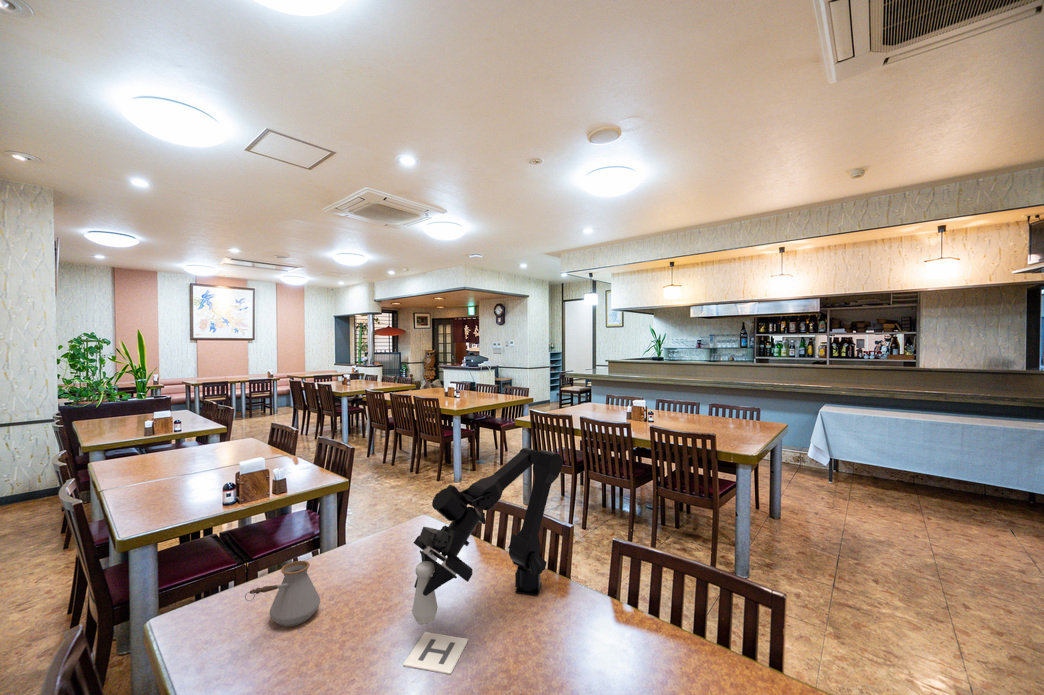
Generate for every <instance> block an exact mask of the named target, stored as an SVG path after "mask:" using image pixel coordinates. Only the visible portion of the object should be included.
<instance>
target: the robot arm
mask: <svg viewBox="0 0 1044 695" xmlns="http://www.w3.org/2000/svg"><path fill="white" fill-rule="evenodd" d="M563 464H564V460H563V458H562V456H561V454H559V453H557V452H553V451H549V450H545V449H541V450H539V451H537V450H535V449H533V448H529V447H523V448H521V449H520V450H519V452H518V453H517V454H516V455H514V456H513V457H512V458H511V459H509V461H507V462H506V463H505V464H504V465H502V467H500V468H499V469H497V470H496V471H495V472H494V473H493V474H492V475H490V476H487V477H483V478H480V479H478V480H477V481H475V482H474V483H471V484H470V485H469V487H468V488H465V489H463V490H461V491H460V490H459V489H458V488H457V487H456V486H455V485H453V484H448V486H447V487H445V488H442V489H441V490H440V491H438V492H437V493H436V494H435V495H434V497H433V499H432V502H431V505H432V508H433V509H434V510H435V511H437V513H439V515H441V516H442V517H444V518H445V519H446V520H447V521H449V522H450V523H449V525H446V524H444V525H443V526H442V527H441V528H440V529H437V528H433V527H427V526H422V529H421V531H420V535H418V536H417V537H416V538H415V540H414V542H413V544H414V545H415V546H417V547H418V548H419V549H420V550H419V554H420V557H421V562H424V561H430V562H432V563H433V564H434V573H433V575H432V577H431V578H430V580H429V582H428V584H427V585H426V587H425V589H424V591H423V595H425V596H427V595H428V594H430V593H431V592H433V591H435V590H437V589H438V588H440V587H441V586H443V585H445V584H446V583H448V582H450V581H451V580H453V579H457V578H458V576H459V577H460V578H462V579H463V580H464V581H466V582H467V583H468V582H469V581H470V579H471V577H472V576H473V573H474V572H473V568H472V567H471V566H470V565H469V564H467V563H466V562H465V561H463V560H462V559H461V558H460V557H459V556H458V555H459V553H460V552H461V550H462V549H463V547H464V546H466V547H468V546H469V545H470V542H469V541H468V540H469V537H470V536H471V534H472V533H473V531H474V530H475V528H476V527H477V525H478V523H481V524H483V525H486V524H487V520H486V517H485V516H486V513H485V512H483V511H490V510H492V509H493V508H494V507H495V506H496V505H497V503H498V502H499V501H500V500H501V498H502V495H503V492H504V491H505V490H506V488H507V487H508V486H510V485H511V484H512V483H513V482H514V481H515V480H516V479H518V478H519V477H520V476H521V475H522V474H524V472H526V471H527V470H528V469H529V468H531V466H532V471H533V472H532V474H533V477H534V481H533V486H532V488H531V489H532V490H531V492H530V496H529V499H528V500H529V501H528V504H527V508H526V511H525V515H524V519H523V523H522V526H521V529H520V530H519V531H518V532H517V533H516V534H515V533H514V534H512V535H511V540H510V543H509V545H508V547H507V548H508V549H509V550H508V556H509V558H510V559H511V560H512V564H513V565H515V566H517V567H516V568H517V569H516V571H515V573H514V574H515V579H514V580H515V581H514V584H515V586H514V587H515V593H516V594H522V595H529V596H535V597H537V596H538V597H539V594H540V590H541V589H542V586H543V585H542V584H543V582H541V574H542V573H543V571H545V570H546V567H547V564H548V563H547V561H546V560H545V559H544V558H543V557H542V556H541V555H540V552H541V543H540V542H541V541H540V537H539V533H540V530H541V529H540V528H541V525H542V521H543V517H544V513H545V509H546V505H547V502H548V499H549V498H548V497H549V494H550V490H551V486H552V484H554V482H555V481H556V480H557V479H558V478H559V477H560V474H561V472H562V471H561V470H562V469H563V468H562V467H563ZM468 505H469V506H468ZM477 509H480V510H477ZM481 510H482V511H481ZM438 559H439V560H440V561H441V562H442V563H439V562H437V560H438ZM456 575H457V576H456ZM417 580H418V576H417V575H416V580H415V583H414V588H415V589H416V586H417Z"/></svg>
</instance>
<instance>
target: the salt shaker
mask: <svg viewBox="0 0 1044 695" xmlns="http://www.w3.org/2000/svg"><path fill="white" fill-rule="evenodd" d="M433 573H434V564H433V563H432V562H430V561H424V562H422V561H421V562H419V563H418V564H416V567H415V574H416V577H417V576H418V580H417V586H416V588H415V592H414V598H413V603H412V609H411V613H412V617H413V618H414V620H415V622H416V623H417V624H418V625H419V626H421V625H429V624H430V623H432V622H433V621H434V620H435V618H436V616H437V615H436V614H437V613H438V601H437V597H436V593H435V592H436V591H435V590H434V591H433V592H431V593H430V594H428V595H427V596H425V595H423V591H424V589H425V587H426V585H427V584H428V582H429V580H430V578H431V577H432V575H433Z"/></svg>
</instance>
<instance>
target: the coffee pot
mask: <svg viewBox="0 0 1044 695" xmlns="http://www.w3.org/2000/svg"><path fill="white" fill-rule="evenodd" d="M309 568H310V562H308V561H306V560H297V561H292V562H289V563H285V564H284V565H283V566H282V567H281V569H280V570H281V573H282V574H283V579H282V581H281V584H277V585H276V584H275V585H265V586H262V587H256V588H254V589H251V590H249V591H247V592H246V593H245V595H244V600H245V601H247V602H250V601H253V600H254V598H255V597H256V595H258V594H260V593H269V592H272V591H274V590H277V593H276V595H275V597H274V599H273V602H272V604H271V606H270V609H269V616H270V618H271V619H272V621H273V622H275V623H276V624H278V625H279V626H282V627H295V626H298V625H301V624H303V623H306V621H308V620H310V619H311V617H312V616H313V615H314V614H315V612H316V611H317V610H318V609H319V606H320V604H321V597H320V595H319V593H318V591H317V590H316V587H315V586H314V583H313V582H312V579H311V577H310V576H309V574H308V569H309ZM247 594H251V595H253V598H251V600H248V599H247V598H246V597H247ZM255 594H256V595H255Z"/></svg>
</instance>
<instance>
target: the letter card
mask: <svg viewBox="0 0 1044 695" xmlns="http://www.w3.org/2000/svg"><path fill="white" fill-rule="evenodd" d="M468 642H469V638H465V637H458V636H452V635H447V634H446V635H445V634H441V633H435V632H429V631H428V632H427V631H424V632H423V635H422V636H421V637H420V639H419V641H417V643H416V645H415V646H414V647H413V649H412V650H411V652H410V653H409V655H408V656H407V657H406V659H405V661H404V662H403V663H402V667H407V668H412V669H417V670H423V671H428V672H434V673H439V674H445V675H452V673H453V671H454V669H455V667H456V666H457V664H458V661H459V660H460V659H461V658H460V657H461V656H462V653H463V651H464V650H465V648H466V646H467V643H468Z"/></svg>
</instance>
